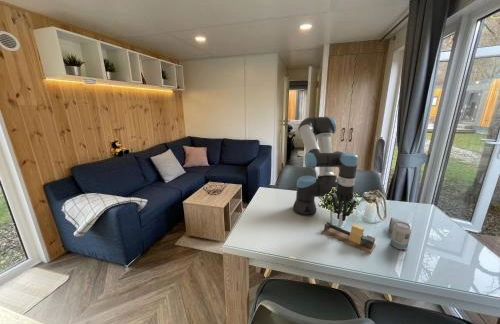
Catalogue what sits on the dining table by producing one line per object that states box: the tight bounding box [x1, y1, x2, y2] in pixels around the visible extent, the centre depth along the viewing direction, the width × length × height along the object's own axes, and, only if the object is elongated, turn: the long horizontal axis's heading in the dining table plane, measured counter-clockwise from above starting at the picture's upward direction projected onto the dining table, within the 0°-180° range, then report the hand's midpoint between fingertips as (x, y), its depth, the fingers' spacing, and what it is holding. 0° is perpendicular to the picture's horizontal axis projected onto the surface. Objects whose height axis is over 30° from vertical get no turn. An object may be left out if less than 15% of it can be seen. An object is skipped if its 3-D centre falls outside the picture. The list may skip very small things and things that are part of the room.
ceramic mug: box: [388, 217, 410, 233], centre depth 111 cm, size 11×8×8 cm
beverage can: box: [390, 222, 412, 250], centre depth 99 cm, size 7×7×12 cm
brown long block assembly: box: [321, 221, 377, 255], centre depth 105 cm, size 24×8×6 cm, turn 45°
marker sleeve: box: [349, 223, 365, 244], centre depth 102 cm, size 5×4×8 cm
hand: (340, 224), depth 108 cm, fingers closed
